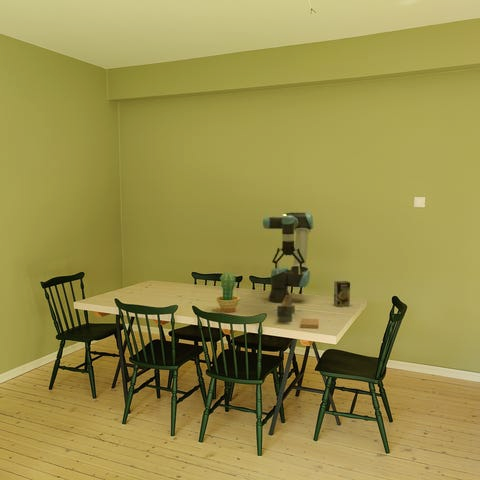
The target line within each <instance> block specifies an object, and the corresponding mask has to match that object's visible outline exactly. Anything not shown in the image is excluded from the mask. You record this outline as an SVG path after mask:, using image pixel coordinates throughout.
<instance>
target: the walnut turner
mask: <svg viewBox="0 0 480 480" xmlns="http://www.w3.org/2000/svg"><path fill="white" fill-rule="evenodd" d="M292 305H293V295H292V294H289V295H286V296H285V298H284V300H283V302H282V303H281V305H277V307H276V309H277V311H276V313H277V314H276V315H277V317H278V316H280V317H291V306H292Z"/></svg>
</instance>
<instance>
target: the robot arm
mask: <svg viewBox="0 0 480 480" xmlns="http://www.w3.org/2000/svg"><path fill="white" fill-rule="evenodd" d="M262 220H263V221H262V227H263V228H264V229H266V230H278V229H279V230H281V240H282V241H281V242H282V244H281V245H282V247H281V248H280V247H277V248H276V249H277V250H276V253H275V255H274V257H273V259H272V261H271V262H272V263H273V264H274V268H273V269H271V272H270V273H271V274H270V284H271V286H270V287H271V288H270V289H271V290H270V292H269V295H268V301H269V302H271V303H278V304H279V303H280V304H282V302H283V300H284V298H285V296H286V295H290V293H289V289H288V287H295V288H296V287H297V288H306V287H307V286H308V285H309V282H310V277H311V271H310V270H309V269H308V267H307V257H308V256H307V255H308V245H309V243H308V242H309V241H308V240H309V233H311V231H312V230H313V229H314V219H313V214H312V213H311V212H292V211H291V212H286V213H281V214H279V215H278V216H272V217H271V216H270V217H269V216H268V217H267V216H265V217H264V218H263V219H262ZM281 252H282V253H281ZM279 253H281V255H279ZM278 255H279V257H278ZM283 256H292V257H293V265H292V266H291V267H290V269H289V268H288V267H286V266H281V267H279V261H280V260H281V259H282V258H283ZM277 257H278V258H277Z"/></svg>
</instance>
